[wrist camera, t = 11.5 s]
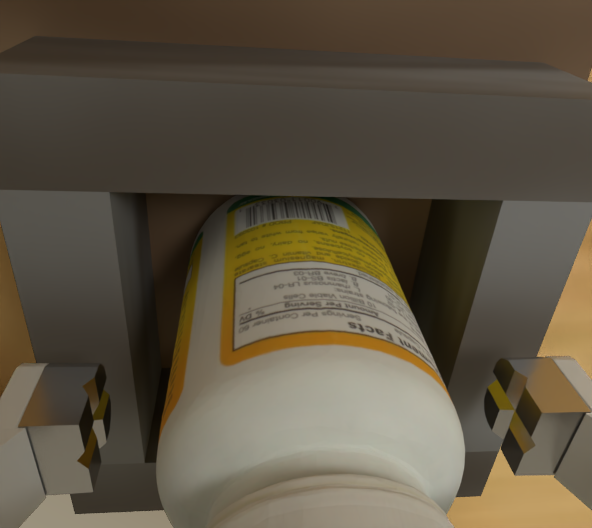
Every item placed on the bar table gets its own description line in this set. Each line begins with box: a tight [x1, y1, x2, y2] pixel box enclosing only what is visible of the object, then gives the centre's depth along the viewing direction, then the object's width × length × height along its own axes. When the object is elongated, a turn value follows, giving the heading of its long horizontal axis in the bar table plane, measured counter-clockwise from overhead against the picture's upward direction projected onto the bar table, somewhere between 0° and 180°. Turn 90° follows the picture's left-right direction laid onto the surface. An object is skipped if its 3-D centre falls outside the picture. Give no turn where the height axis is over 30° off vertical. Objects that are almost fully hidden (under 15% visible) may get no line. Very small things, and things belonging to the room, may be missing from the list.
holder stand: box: [0, 0, 592, 514], centre depth 14 cm, size 18×14×4 cm
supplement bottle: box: [156, 195, 465, 528], centre depth 11 cm, size 5×5×10 cm
